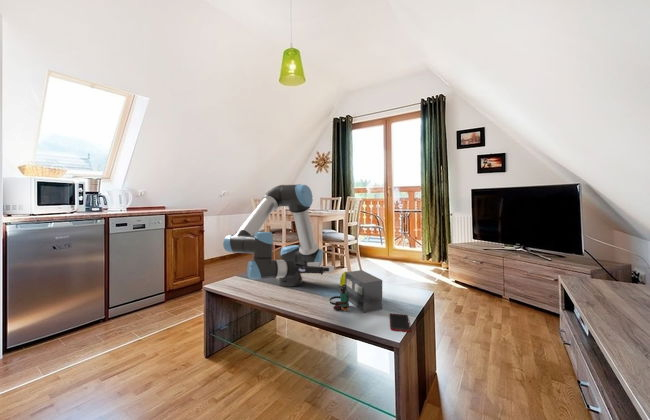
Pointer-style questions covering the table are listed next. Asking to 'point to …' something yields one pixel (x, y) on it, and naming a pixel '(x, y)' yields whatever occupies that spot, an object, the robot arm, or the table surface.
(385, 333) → the table surface
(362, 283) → the box
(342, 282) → the yellow toy chassis
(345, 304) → the binoculars
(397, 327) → the cell phone
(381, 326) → the table surface
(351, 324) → the table surface
